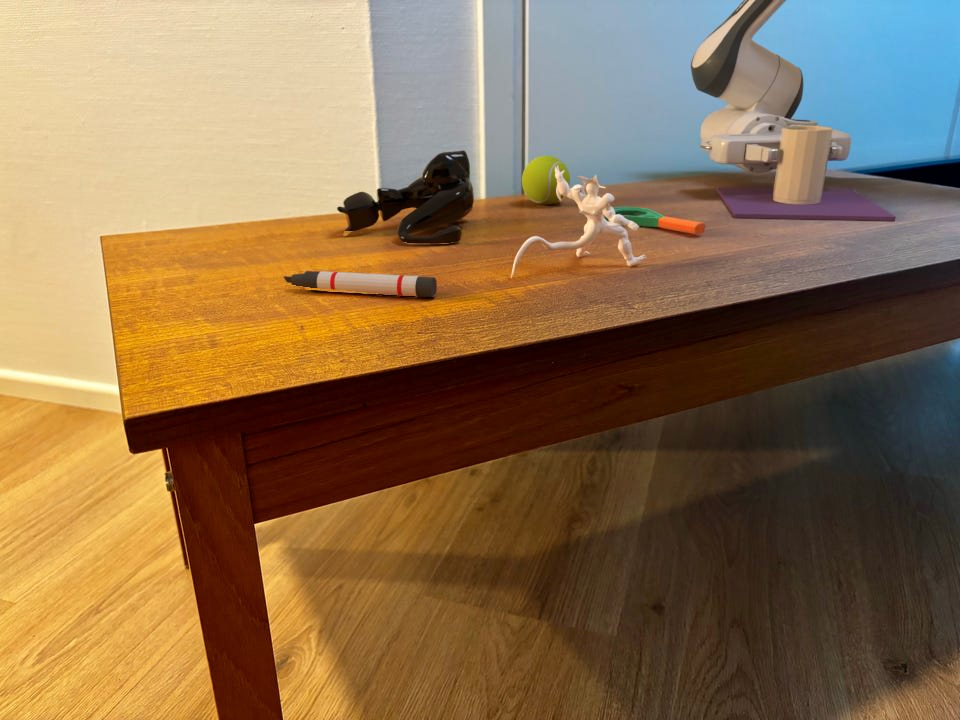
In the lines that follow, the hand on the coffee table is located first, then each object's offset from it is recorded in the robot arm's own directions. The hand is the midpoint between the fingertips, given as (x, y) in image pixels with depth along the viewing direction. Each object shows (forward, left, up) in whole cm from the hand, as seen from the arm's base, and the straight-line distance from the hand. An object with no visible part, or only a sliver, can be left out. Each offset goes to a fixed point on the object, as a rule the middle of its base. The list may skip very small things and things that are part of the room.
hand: (805, 154), depth 103 cm
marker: (+50, +48, -7) cm, 69 cm away
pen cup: (0, 0, -6) cm, 7 cm away
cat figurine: (+50, +24, -7) cm, 56 cm away
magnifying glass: (+21, +16, -7) cm, 27 cm away
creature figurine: (+29, +37, -7) cm, 47 cm away
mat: (0, 0, -7) cm, 7 cm away
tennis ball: (+36, +3, -7) cm, 37 cm away
